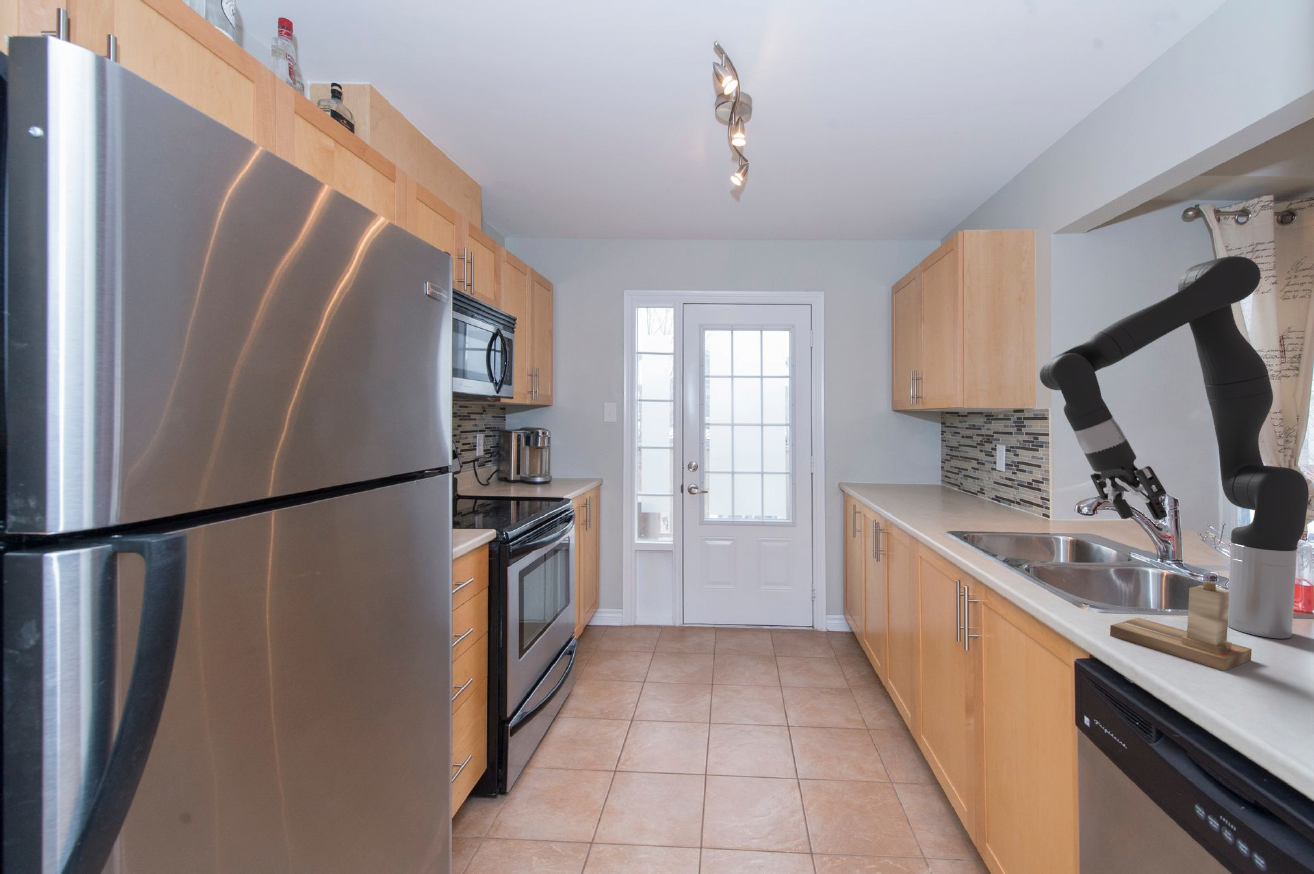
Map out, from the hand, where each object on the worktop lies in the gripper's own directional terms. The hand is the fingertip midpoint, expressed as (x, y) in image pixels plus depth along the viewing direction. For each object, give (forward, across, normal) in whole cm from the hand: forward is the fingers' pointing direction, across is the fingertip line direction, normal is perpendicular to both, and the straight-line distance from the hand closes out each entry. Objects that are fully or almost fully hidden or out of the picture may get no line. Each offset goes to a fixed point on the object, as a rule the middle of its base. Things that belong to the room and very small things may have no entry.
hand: (1144, 518), depth 117 cm
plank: (+21, -6, +10) cm, 24 cm away
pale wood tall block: (+21, -11, +8) cm, 25 cm away
